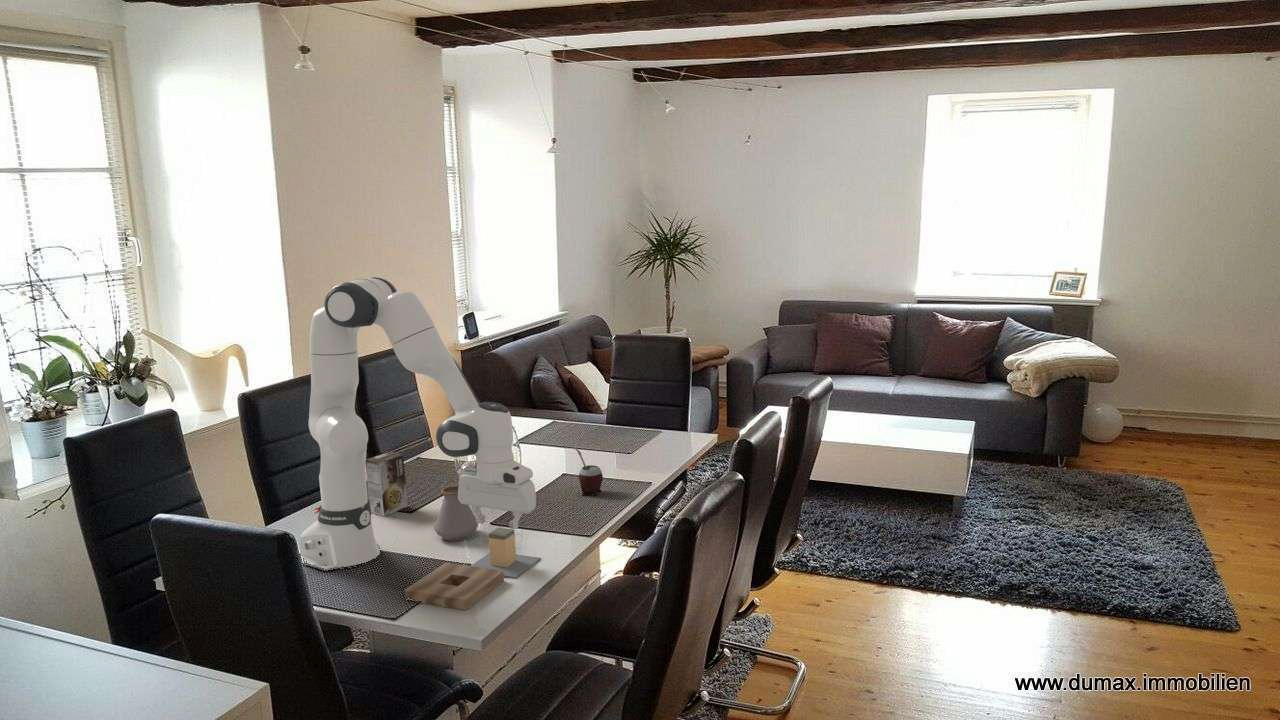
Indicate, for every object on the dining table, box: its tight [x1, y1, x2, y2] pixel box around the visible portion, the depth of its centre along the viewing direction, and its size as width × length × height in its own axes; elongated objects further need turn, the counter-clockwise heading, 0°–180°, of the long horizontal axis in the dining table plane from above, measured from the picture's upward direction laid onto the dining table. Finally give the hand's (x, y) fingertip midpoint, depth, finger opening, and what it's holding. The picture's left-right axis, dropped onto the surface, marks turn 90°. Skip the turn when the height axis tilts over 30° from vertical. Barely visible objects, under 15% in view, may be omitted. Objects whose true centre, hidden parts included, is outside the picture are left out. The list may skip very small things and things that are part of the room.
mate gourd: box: [570, 444, 604, 497], centre depth 274 cm, size 8×8×15 cm
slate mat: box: [470, 552, 542, 580], centre depth 226 cm, size 14×12×1 cm
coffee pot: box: [434, 485, 479, 542], centre depth 249 cm, size 21×12×15 cm, turn 153°
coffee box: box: [365, 451, 409, 517], centre depth 267 cm, size 9×6×16 cm
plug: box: [487, 527, 517, 567], centre depth 225 cm, size 4×4×8 cm
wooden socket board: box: [404, 562, 505, 612], centre depth 212 cm, size 16×16×2 cm
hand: (497, 525), depth 223 cm, fingers open, 8 cm apart
